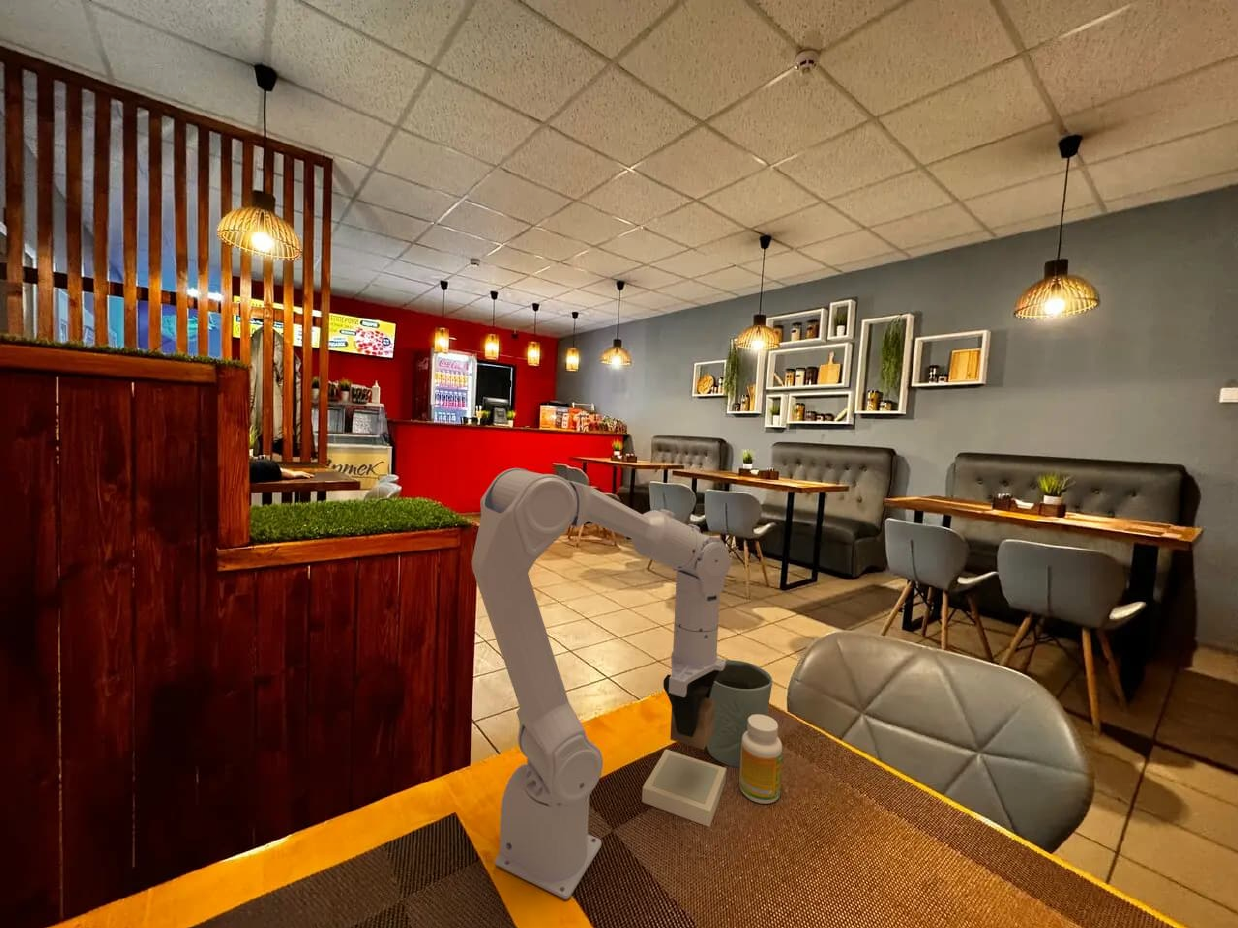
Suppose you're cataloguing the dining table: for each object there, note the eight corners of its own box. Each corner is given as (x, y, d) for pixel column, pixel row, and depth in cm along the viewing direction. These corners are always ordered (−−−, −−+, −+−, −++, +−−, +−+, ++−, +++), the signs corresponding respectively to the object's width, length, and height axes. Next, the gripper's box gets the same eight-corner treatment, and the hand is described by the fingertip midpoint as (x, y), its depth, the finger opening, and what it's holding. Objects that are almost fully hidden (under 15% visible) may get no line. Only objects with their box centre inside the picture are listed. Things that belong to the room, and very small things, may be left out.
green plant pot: (694, 758, 74) (698, 680, 73) (708, 723, 83) (712, 654, 83) (764, 778, 70) (769, 696, 70) (771, 739, 80) (775, 666, 79)
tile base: (642, 801, 65) (642, 786, 65) (664, 762, 73) (665, 748, 73) (709, 826, 61) (710, 810, 61) (725, 781, 69) (726, 767, 69)
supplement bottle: (782, 808, 64) (786, 736, 64) (739, 801, 66) (743, 730, 65) (777, 780, 70) (781, 714, 69) (738, 774, 71) (741, 708, 70)
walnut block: (670, 739, 65) (671, 706, 64) (681, 722, 69) (682, 690, 68) (703, 750, 63) (705, 715, 62) (712, 731, 67) (714, 699, 67)
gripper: (711, 650, 57) (706, 764, 57) (738, 612, 70) (733, 705, 71) (654, 638, 60) (650, 746, 60) (690, 603, 73) (686, 693, 74)
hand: (691, 723), depth 66 cm, fingers closed on walnut block, 4 cm apart
